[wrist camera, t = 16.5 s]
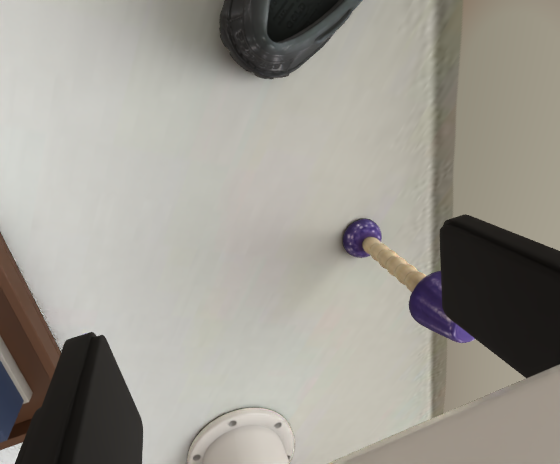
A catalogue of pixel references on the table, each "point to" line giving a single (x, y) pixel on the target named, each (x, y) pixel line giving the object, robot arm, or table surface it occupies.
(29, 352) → the tray
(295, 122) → the table surface
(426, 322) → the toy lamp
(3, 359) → the blue stair step block
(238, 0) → the loafer
